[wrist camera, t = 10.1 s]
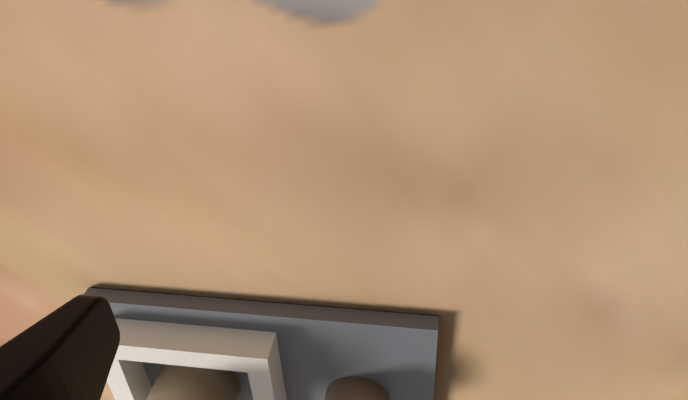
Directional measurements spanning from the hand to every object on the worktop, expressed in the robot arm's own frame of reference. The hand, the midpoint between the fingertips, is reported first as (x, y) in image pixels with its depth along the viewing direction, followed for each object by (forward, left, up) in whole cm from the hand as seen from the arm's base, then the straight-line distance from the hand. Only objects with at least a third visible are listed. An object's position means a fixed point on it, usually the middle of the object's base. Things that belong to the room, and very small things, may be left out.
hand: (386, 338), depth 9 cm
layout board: (+7, +17, -12) cm, 22 cm away
